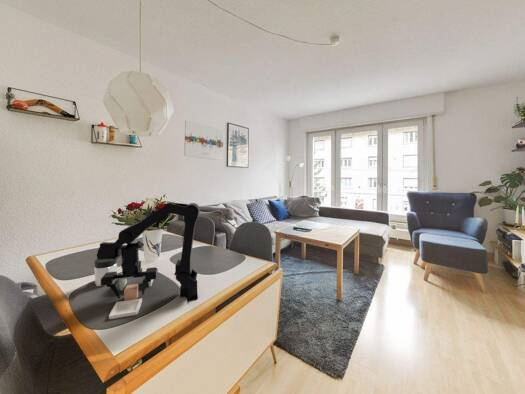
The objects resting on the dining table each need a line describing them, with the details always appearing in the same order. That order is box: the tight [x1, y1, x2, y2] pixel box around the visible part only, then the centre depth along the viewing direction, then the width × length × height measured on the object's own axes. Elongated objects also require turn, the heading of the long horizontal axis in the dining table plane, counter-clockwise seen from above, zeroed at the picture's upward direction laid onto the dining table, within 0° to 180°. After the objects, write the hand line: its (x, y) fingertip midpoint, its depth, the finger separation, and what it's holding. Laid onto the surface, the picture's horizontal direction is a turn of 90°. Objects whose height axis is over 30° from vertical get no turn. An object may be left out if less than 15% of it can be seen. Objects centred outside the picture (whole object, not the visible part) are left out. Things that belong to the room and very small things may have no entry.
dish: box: [108, 298, 143, 320], centre depth 79 cm, size 9×9×1 cm
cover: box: [119, 266, 154, 291], centre depth 97 cm, size 12×7×8 cm, turn 110°
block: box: [123, 283, 139, 301], centre depth 86 cm, size 4×4×5 cm
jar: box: [93, 258, 118, 287], centre depth 99 cm, size 9×8×12 cm
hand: (131, 296), depth 87 cm, fingers open, 8 cm apart
